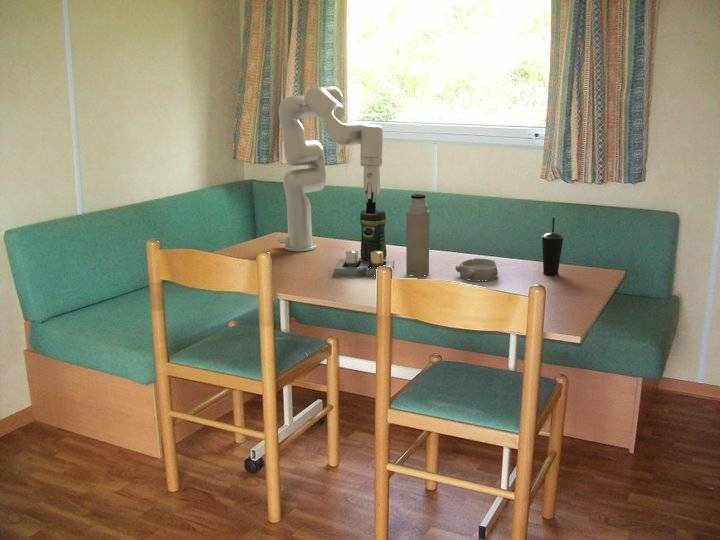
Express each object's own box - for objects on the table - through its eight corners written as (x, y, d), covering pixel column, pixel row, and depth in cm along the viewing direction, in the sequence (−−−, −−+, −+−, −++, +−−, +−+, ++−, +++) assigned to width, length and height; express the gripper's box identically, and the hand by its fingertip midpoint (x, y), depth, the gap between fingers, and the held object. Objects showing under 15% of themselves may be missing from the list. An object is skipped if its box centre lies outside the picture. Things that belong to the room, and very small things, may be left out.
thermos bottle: (401, 273, 271) (401, 195, 264) (416, 269, 277) (417, 192, 269) (418, 278, 266) (419, 197, 258) (433, 273, 271) (434, 194, 264)
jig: (333, 275, 270) (333, 268, 269) (340, 265, 284) (339, 258, 283) (390, 277, 268) (390, 270, 267) (394, 266, 281) (394, 259, 280)
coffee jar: (389, 257, 294) (389, 209, 289) (379, 261, 288) (378, 212, 283) (368, 254, 299) (367, 206, 294) (357, 258, 293) (356, 210, 288)
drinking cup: (549, 278, 263) (552, 220, 258) (534, 273, 270) (537, 216, 264) (566, 275, 267) (570, 218, 261) (551, 270, 273) (554, 214, 268)
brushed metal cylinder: (345, 272, 274) (344, 253, 272) (347, 269, 279) (346, 250, 277) (357, 272, 274) (357, 253, 272) (359, 269, 278) (358, 250, 276)
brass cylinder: (370, 272, 273) (370, 253, 271) (371, 269, 277) (371, 250, 276) (382, 273, 273) (382, 254, 271) (383, 269, 277) (383, 250, 275)
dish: (490, 270, 275) (490, 256, 273) (505, 281, 262) (506, 266, 260) (451, 273, 272) (451, 259, 270) (465, 284, 259) (465, 269, 257)
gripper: (379, 164, 259) (379, 218, 264) (384, 158, 273) (383, 209, 278) (357, 164, 260) (357, 217, 265) (363, 157, 274) (363, 208, 279)
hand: (370, 213), depth 272 cm, fingers closed
